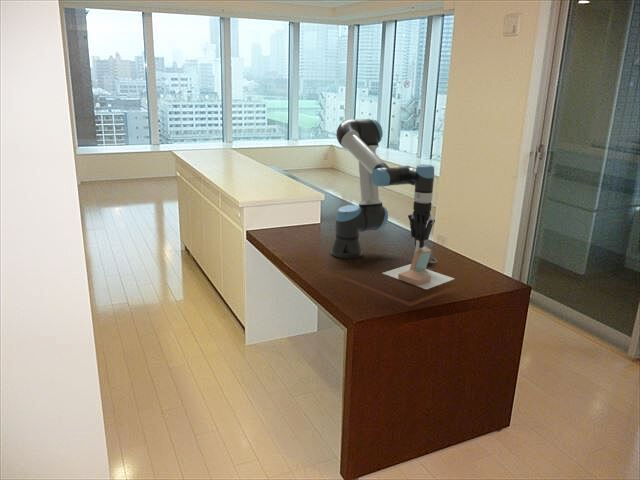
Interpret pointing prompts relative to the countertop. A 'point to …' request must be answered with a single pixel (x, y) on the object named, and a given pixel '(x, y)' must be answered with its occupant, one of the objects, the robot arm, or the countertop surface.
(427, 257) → the tile
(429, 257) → the ceramic mug
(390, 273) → the stone board
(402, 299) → the countertop surface
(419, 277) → the tile
